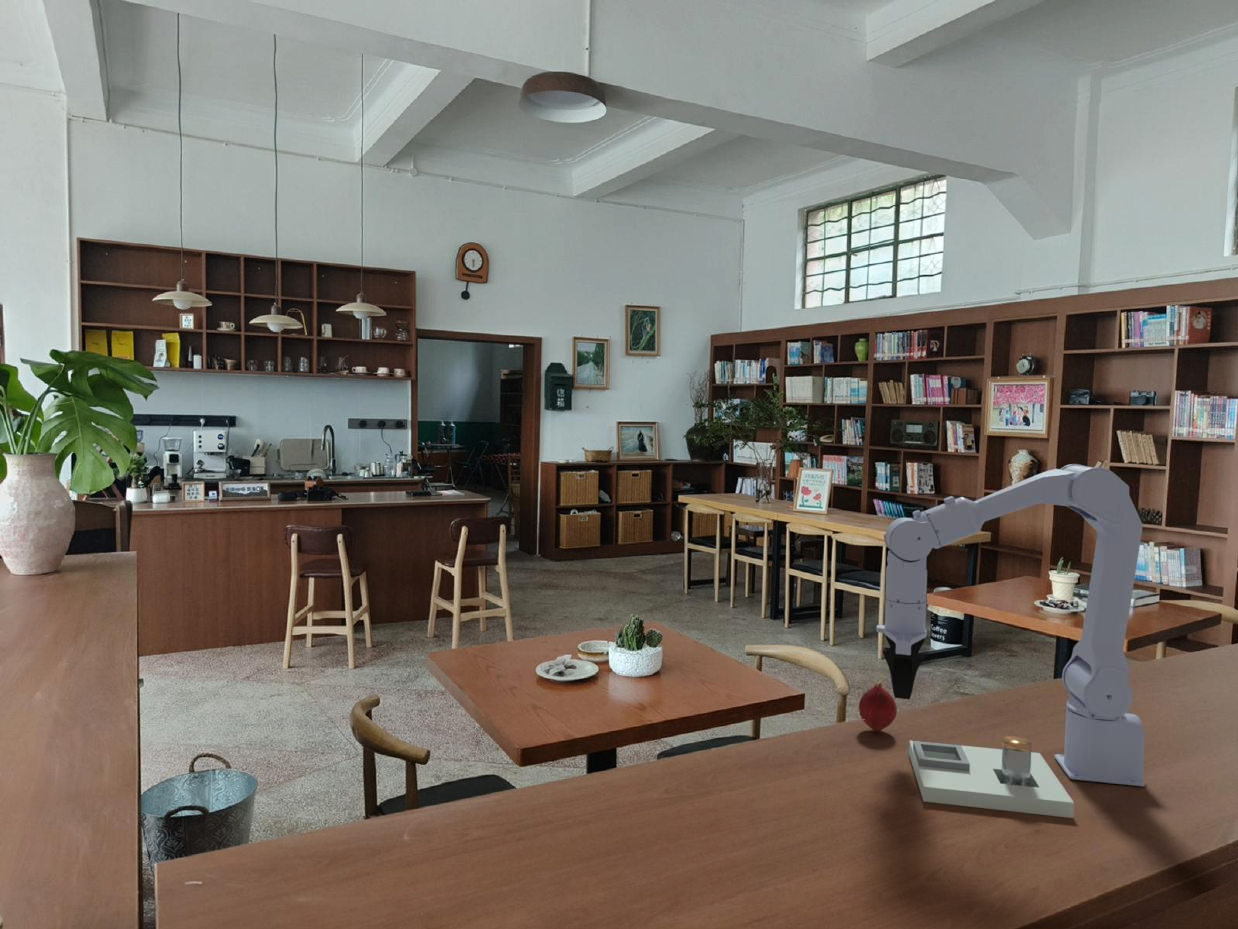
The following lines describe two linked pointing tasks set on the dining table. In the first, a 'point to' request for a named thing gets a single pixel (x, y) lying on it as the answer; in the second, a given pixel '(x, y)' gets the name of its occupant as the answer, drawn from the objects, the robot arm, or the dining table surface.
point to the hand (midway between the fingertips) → (902, 690)
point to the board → (985, 780)
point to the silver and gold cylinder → (1016, 761)
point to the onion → (877, 708)
